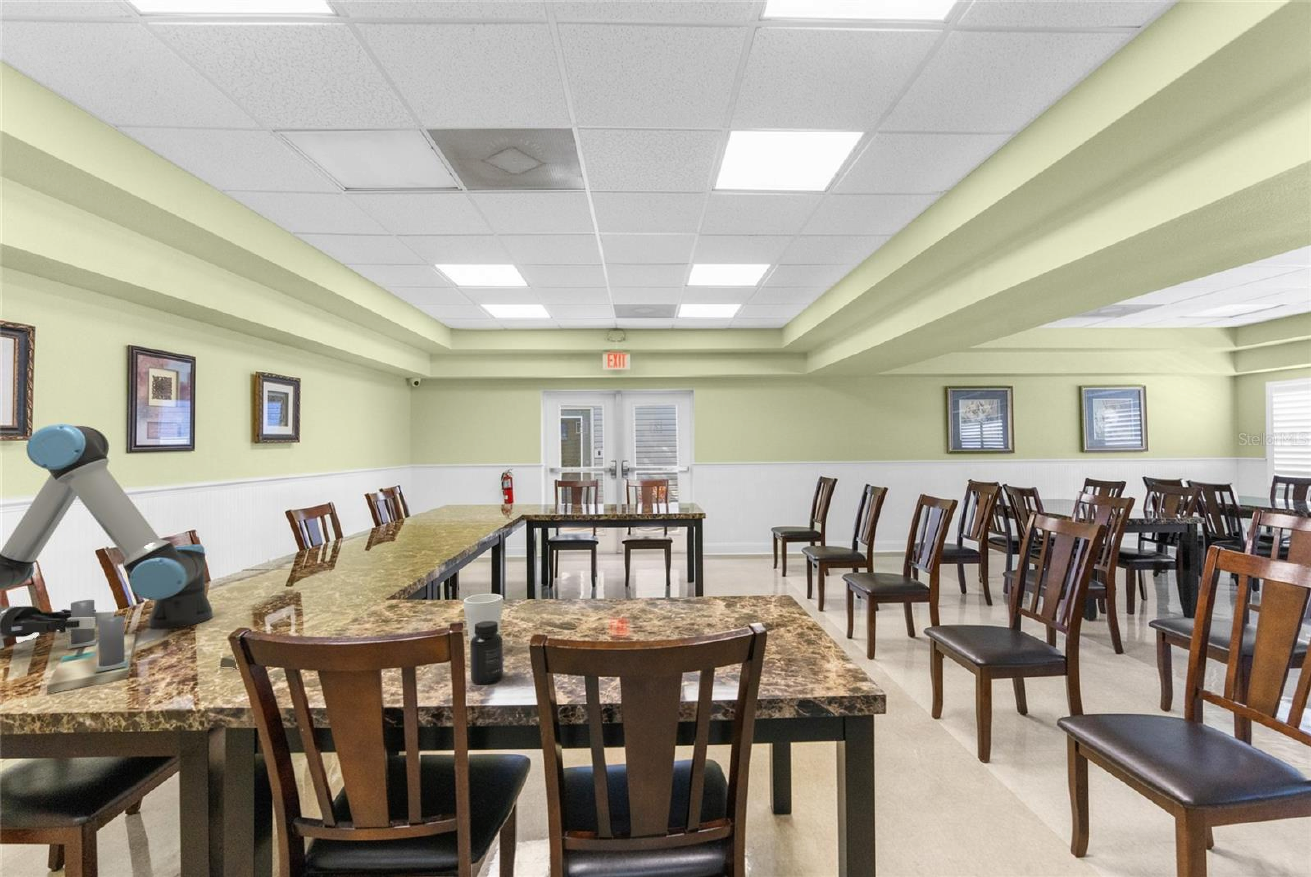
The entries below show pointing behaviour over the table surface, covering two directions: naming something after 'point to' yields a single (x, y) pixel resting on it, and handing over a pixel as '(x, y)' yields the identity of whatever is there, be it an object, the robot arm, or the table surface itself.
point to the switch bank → (87, 667)
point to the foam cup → (482, 610)
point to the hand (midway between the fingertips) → (103, 620)
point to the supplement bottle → (486, 654)
